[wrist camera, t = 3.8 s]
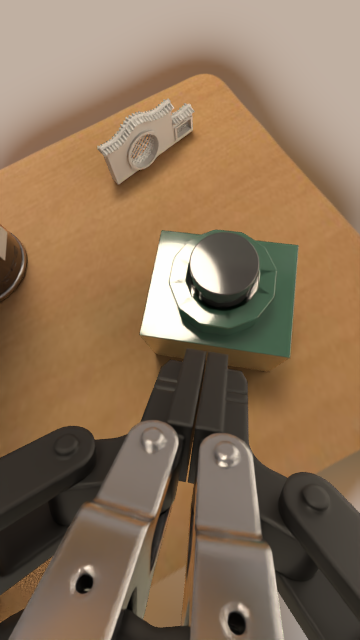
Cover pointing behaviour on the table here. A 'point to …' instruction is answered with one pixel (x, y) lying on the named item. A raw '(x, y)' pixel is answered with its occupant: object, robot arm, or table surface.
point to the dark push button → (223, 269)
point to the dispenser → (221, 323)
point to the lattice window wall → (161, 134)
